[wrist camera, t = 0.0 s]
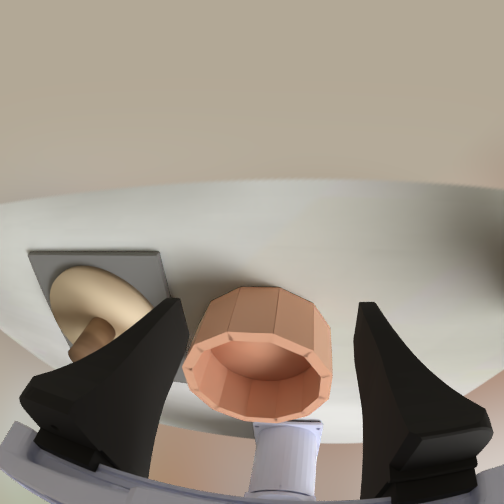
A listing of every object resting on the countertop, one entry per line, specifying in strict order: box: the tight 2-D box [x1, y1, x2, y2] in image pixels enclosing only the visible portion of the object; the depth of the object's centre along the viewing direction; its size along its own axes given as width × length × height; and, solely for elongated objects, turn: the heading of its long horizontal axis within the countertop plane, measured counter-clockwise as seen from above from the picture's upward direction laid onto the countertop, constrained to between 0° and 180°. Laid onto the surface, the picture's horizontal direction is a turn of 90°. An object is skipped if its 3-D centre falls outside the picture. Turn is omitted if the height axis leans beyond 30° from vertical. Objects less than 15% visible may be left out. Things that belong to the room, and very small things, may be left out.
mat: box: [28, 252, 187, 383], centre depth 29 cm, size 15×15×1 cm
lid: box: [50, 266, 154, 362], centre depth 26 cm, size 13×13×5 cm
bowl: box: [182, 287, 333, 423], centre depth 25 cm, size 11×11×5 cm
